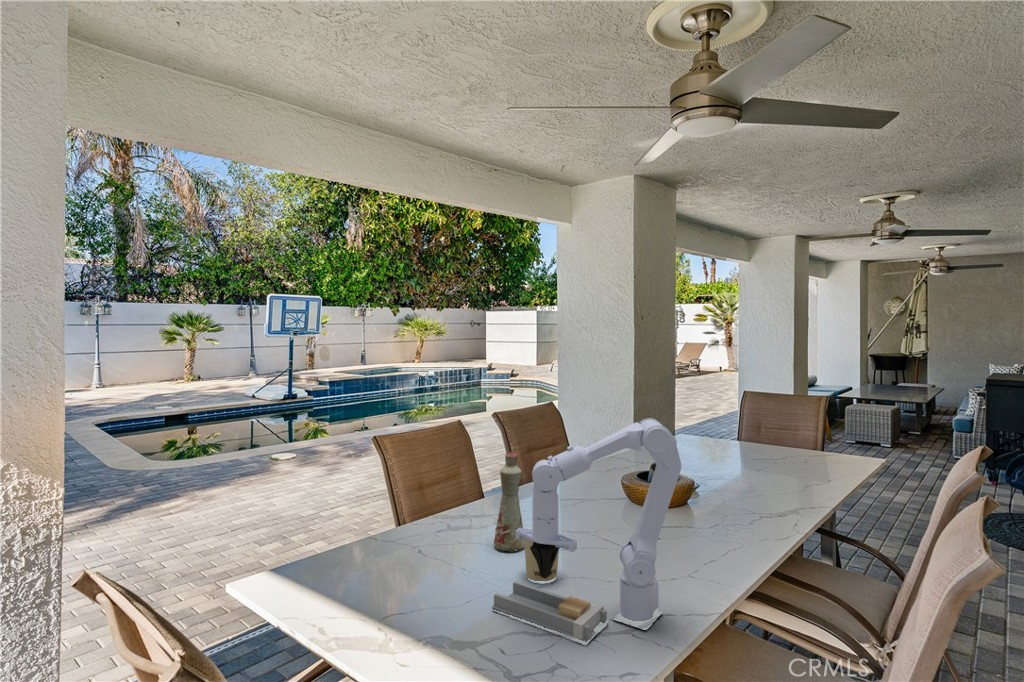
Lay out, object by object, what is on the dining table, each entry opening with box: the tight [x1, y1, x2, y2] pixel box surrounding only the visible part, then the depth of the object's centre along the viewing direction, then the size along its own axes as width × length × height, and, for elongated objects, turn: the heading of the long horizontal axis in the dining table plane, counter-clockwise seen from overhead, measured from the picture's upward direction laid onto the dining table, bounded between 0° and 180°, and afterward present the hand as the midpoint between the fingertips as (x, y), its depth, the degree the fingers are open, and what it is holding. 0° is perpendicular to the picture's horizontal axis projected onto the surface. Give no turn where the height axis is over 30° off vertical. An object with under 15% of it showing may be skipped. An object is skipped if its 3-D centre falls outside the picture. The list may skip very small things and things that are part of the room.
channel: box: [491, 580, 608, 642], centre depth 127 cm, size 10×24×4 cm, turn 55°
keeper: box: [558, 595, 591, 620], centre depth 123 cm, size 5×5×4 cm
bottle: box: [493, 451, 525, 552], centre depth 166 cm, size 9×9×28 cm
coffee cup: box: [524, 525, 561, 581], centre depth 147 cm, size 9×9×12 cm
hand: (545, 576), depth 127 cm, fingers closed
